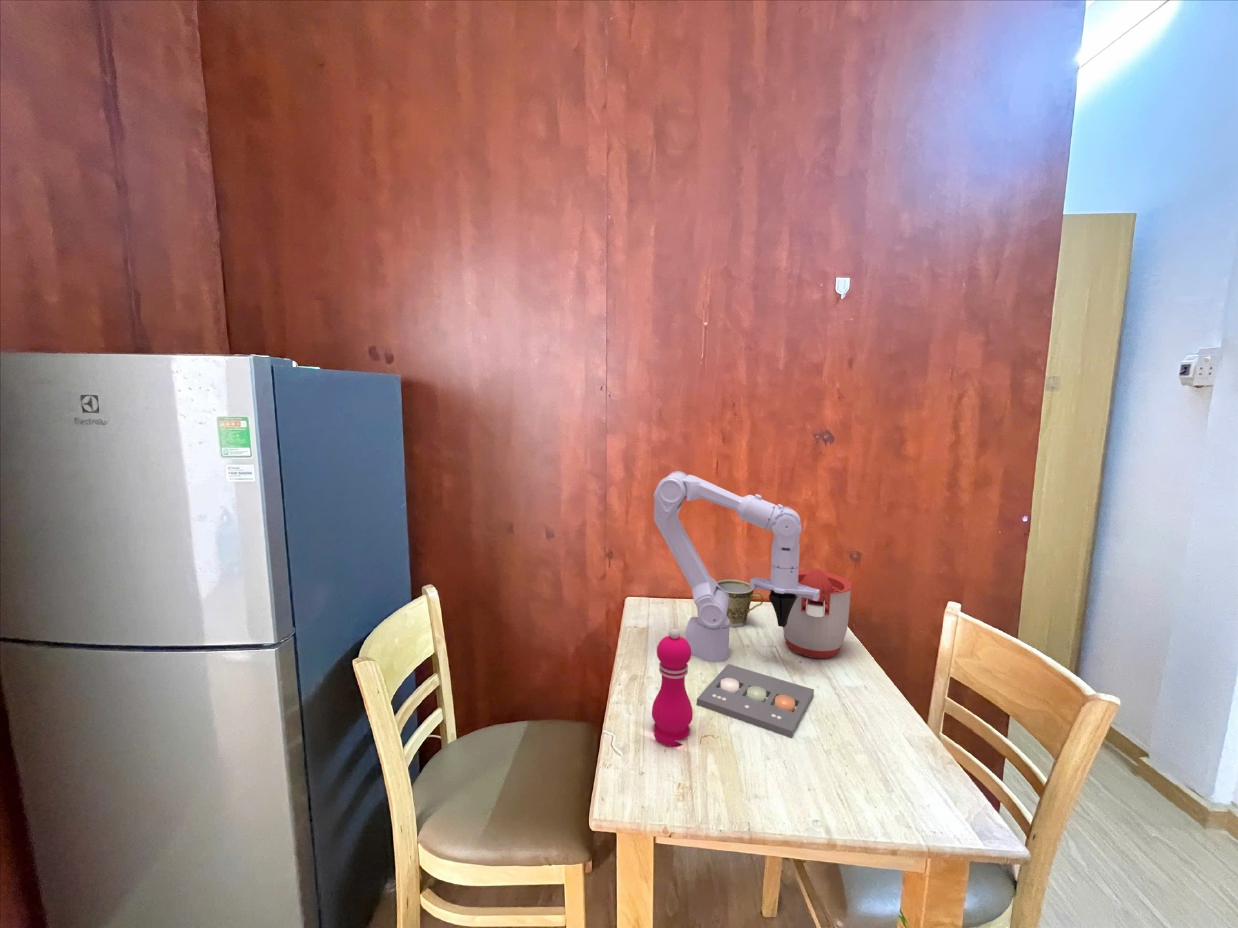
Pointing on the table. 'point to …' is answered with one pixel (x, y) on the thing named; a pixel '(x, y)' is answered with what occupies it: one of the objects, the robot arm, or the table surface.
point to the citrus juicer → (819, 615)
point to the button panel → (753, 709)
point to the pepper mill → (672, 691)
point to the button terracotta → (785, 702)
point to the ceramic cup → (738, 600)
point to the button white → (730, 685)
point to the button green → (756, 693)
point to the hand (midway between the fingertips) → (782, 624)
